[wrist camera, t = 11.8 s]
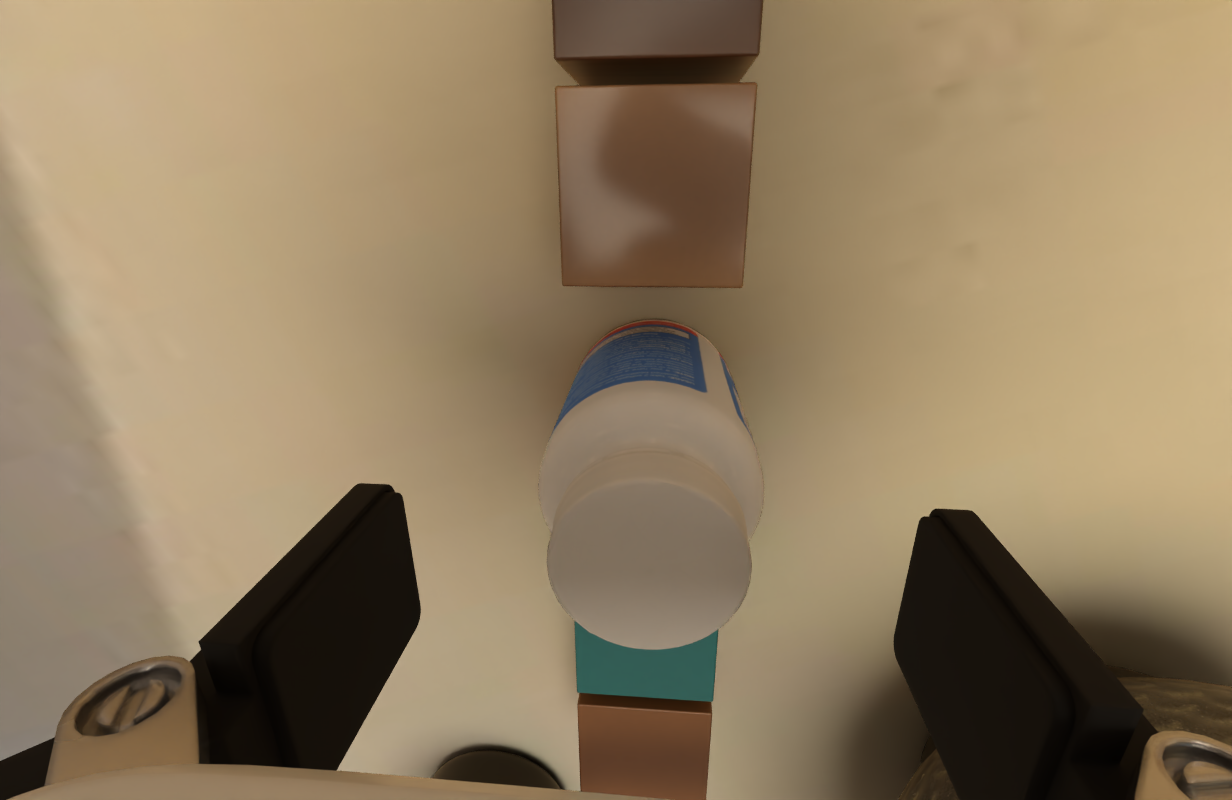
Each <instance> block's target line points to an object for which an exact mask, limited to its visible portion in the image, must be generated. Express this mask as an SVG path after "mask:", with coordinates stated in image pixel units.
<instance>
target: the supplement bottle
mask: <svg viewBox="0 0 1232 800" xmlns="http://www.w3.org/2000/svg"><path fill="white" fill-rule="evenodd" d="M432 779H443V780H455V781H467V782H479V783H491V784H502V785H514V786H526V787H537V788H548V789H559V790H561V789H560V787H559V786H558V784H557V783H556V781H555V780H554V779H553V778H552V777H551V776H550V775H549V774H548V773H547V772H546V771H545V770H544V769H543V768H541V767H540V766H538V765H537V764H535V763H533V762H532V761H530V760H528V759H525V758H523V757H521V756H518V755H515V754H511V753H507V752H502V751H493V750H481V751H473V752H468V753H465V754H462V755H459V756H457V757H455V758H453V759H451V760H449V761H448V762H446V763H445V764H444V765H443V766H441V767H440V768H439V769H438V771H437V772H436V773H435V774H434V776H433V777H432Z"/></svg>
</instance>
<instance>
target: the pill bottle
mask: <svg viewBox="0 0 1232 800" xmlns="http://www.w3.org/2000/svg"><path fill="white" fill-rule="evenodd" d="M538 486H539V500H540V505H541V509H542V513H543V516H544V519H545V521H546V524H547V526H548V528H549V530H550V532H551V537H550V541H549V545H548V551H547V568H548V575H549V579H550V583H551V586H552V589H553V591H554V593H555V596H556V598H557V599H558V601H559V603H560V604H561V606H562V607H563V608H564V610H565V611H566V612H567V613H568V614H569V615H570V616H571V617H572V618H573V619H574V620H575V621H576V622H577V623H578V624H580V625H581V626H582V627H583V628H584V629H586V630H587V631H588V632H590V633H592V634H594V635H596V636H598V637H600V638H602V639H604V640H606V641H609V642H612V643H614V644H617V645H621V646H625V647H630V648H636V649H648V650H659V649H669V648H675V647H680V646H684V645H687V644H691V643H693V642H696V641H698V640H701V639H703V638H705V637H707V636H709V635H710V634H712V633H713V632H715V631H716V630H718V629H719V628H721V627H722V626H723V625H724V624H725V623H726V622H727V621H728V620H729V619H730V618H731V617H732V615H733V614H734V613H735V612H736V611H737V610H738V608H739V607H740V605H741V603H742V602H743V600H744V598H745V596H746V593H747V590H748V587H749V583H750V577H751V568H752V563H751V553H750V547H749V541H750V539H751V537H752V535H753V534H754V532H755V529H756V527H757V525H758V522H759V519H760V516H761V513H762V508H763V502H764V481H763V473H762V469H761V465H760V461H759V457H758V453H757V450H756V447H755V444H754V441H753V438H752V435H751V432H750V429H749V426H748V423H747V420H746V417H745V414H744V411H743V408H742V405H741V402H740V399H739V396H738V393H737V390H736V388H735V384H734V381H733V379H732V376H731V374H730V371H729V369H728V367H727V365H726V363H725V361H724V359H723V358H722V356H721V354H720V353H719V352H718V350H717V349H716V348H715V347H714V345H713V344H712V343H711V342H710V341H709V340H708V339H706V338H705V337H704V336H702V335H701V334H700V333H698V332H697V331H695V330H693V329H691V328H689V327H687V326H685V325H682V324H680V323H676V322H672V321H667V320H652V319H651V320H641V321H636V322H632V323H628V324H626V325H623V326H621V327H618V328H616V329H614V330H613V331H611V332H609V333H608V334H606V335H605V336H604V337H602V338H601V339H600V340H599V341H598V342H597V343H596V344H595V345H594V346H593V347H592V348H591V350H590V351H589V352H588V354H587V355H586V357H585V358H584V360H583V361H582V363H581V365H580V367H579V369H578V372H577V374H576V377H575V379H574V382H573V384H572V386H571V389H570V391H569V393H568V396H567V398H566V401H565V403H564V406H563V408H562V410H561V413H560V415H559V418H558V420H557V422H556V425H555V427H554V430H553V432H552V434H551V437H550V439H549V441H548V444H547V447H546V450H545V453H544V456H543V459H542V463H541V467H540V474H539V484H538Z"/></svg>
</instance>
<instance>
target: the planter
mask: <svg viewBox="0 0 1232 800" xmlns="http://www.w3.org/2000/svg"><path fill="white" fill-rule="evenodd" d="M1106 666H1107V665H1106ZM1107 667H1108V668H1109V669H1110V671H1111V672H1112V673H1113V674H1114V675H1115V676H1116V677H1117V679H1118V680H1119V681H1120V682H1121V683H1122V684H1123V686H1124V687H1125V688H1126V689H1127V690H1128V691H1129V693H1130V694H1131V695H1132V696H1133V697H1134V698H1135V700H1136V701H1137V702H1138V703H1139V704H1140V705H1141V707H1142V708H1143V709H1144V711H1143V713H1142V714H1143V715H1144V716H1145V717H1146V718H1147V720H1148V721H1149V722H1150V723H1151V724H1152V725H1153V727H1154V728H1155V729H1156V730H1157V731H1158V732H1159V733H1160V732H1162V731H1186V732H1190V733H1194V734H1199V735H1203V736H1207V737H1209V738H1212V739H1214V740H1217V741H1220V742H1222V743H1225V744H1227V745H1230V746H1232V687H1230V686H1225V685H1218V684H1212V683H1205V682H1198V681H1191V680H1184V679H1174V678H1155V677H1152V676H1149V675H1146V674H1142V673H1139V672H1135V671H1132V670H1128V669H1125V668H1120V667H1113V666H1107ZM898 800H959V798H958V796H957V794H956V791H955V789H954V787H953V785H952V782H951V780H950V778H949V776H948V774H947V771H946V769H945V767H944V765H943V762H942V760H941V758H940V756H939V753H938V751H937V749H936V747H935V744H934V742H933V740H932V738H931V735H930V737H929V739H928V741H927V743H926V746H925V748H924V751H923V753H922V758H921V763H920V766H919V768H918V769H917V771H916V772H915V774H914V775H913V777H912V778H911V780H910V781H909V782H908V784H907V785H906V787H905V789H904V790H903V792H902V793H901V795H900V797H899V799H898Z"/></svg>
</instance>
